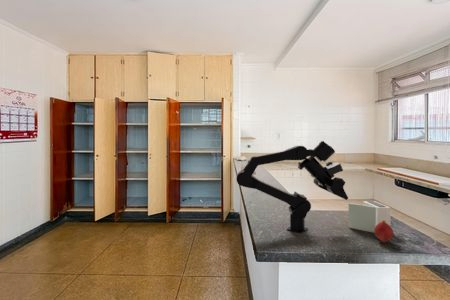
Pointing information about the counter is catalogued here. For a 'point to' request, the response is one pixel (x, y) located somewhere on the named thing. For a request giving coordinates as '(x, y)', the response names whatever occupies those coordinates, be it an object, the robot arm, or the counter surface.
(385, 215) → the box
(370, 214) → the door
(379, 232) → the onion
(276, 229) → the counter surface
